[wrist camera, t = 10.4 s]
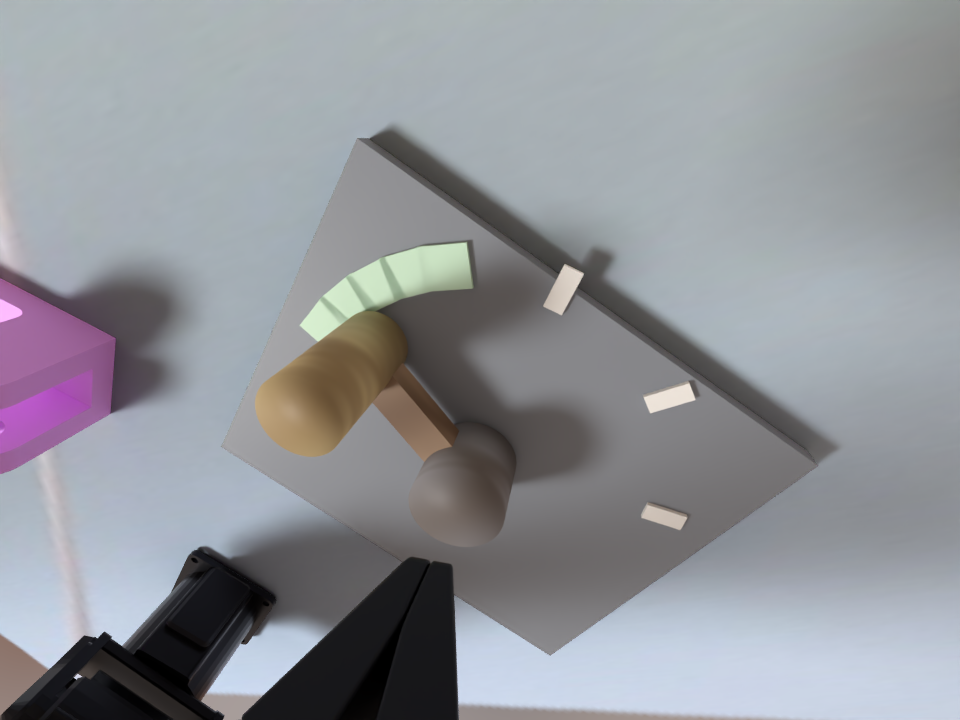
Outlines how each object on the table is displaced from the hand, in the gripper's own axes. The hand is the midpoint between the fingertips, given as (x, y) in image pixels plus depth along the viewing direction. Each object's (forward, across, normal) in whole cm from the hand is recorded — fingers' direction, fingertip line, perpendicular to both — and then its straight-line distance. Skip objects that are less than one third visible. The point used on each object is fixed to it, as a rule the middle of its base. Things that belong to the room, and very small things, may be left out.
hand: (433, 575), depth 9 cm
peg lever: (+12, +4, +4) cm, 13 cm away
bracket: (+13, +29, +3) cm, 32 cm away
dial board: (+13, +2, +6) cm, 14 cm away
